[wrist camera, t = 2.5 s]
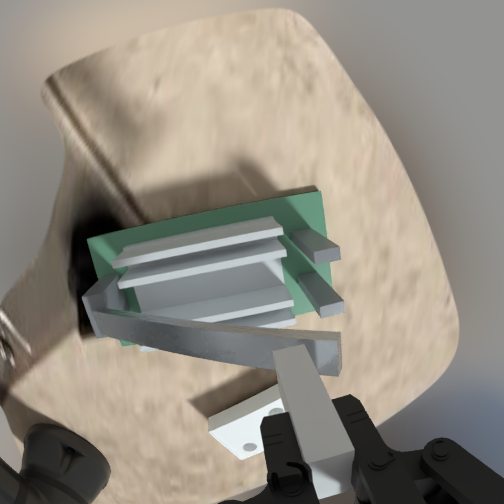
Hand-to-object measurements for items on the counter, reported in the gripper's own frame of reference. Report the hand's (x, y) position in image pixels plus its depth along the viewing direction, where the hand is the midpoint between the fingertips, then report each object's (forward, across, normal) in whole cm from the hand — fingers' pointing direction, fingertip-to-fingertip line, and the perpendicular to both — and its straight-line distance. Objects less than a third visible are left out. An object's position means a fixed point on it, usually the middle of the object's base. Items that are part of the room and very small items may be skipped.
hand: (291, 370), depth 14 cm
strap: (+6, -5, 0) cm, 8 cm away
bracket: (+18, -2, -19) cm, 26 cm away
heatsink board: (+17, -4, 0) cm, 18 cm away
